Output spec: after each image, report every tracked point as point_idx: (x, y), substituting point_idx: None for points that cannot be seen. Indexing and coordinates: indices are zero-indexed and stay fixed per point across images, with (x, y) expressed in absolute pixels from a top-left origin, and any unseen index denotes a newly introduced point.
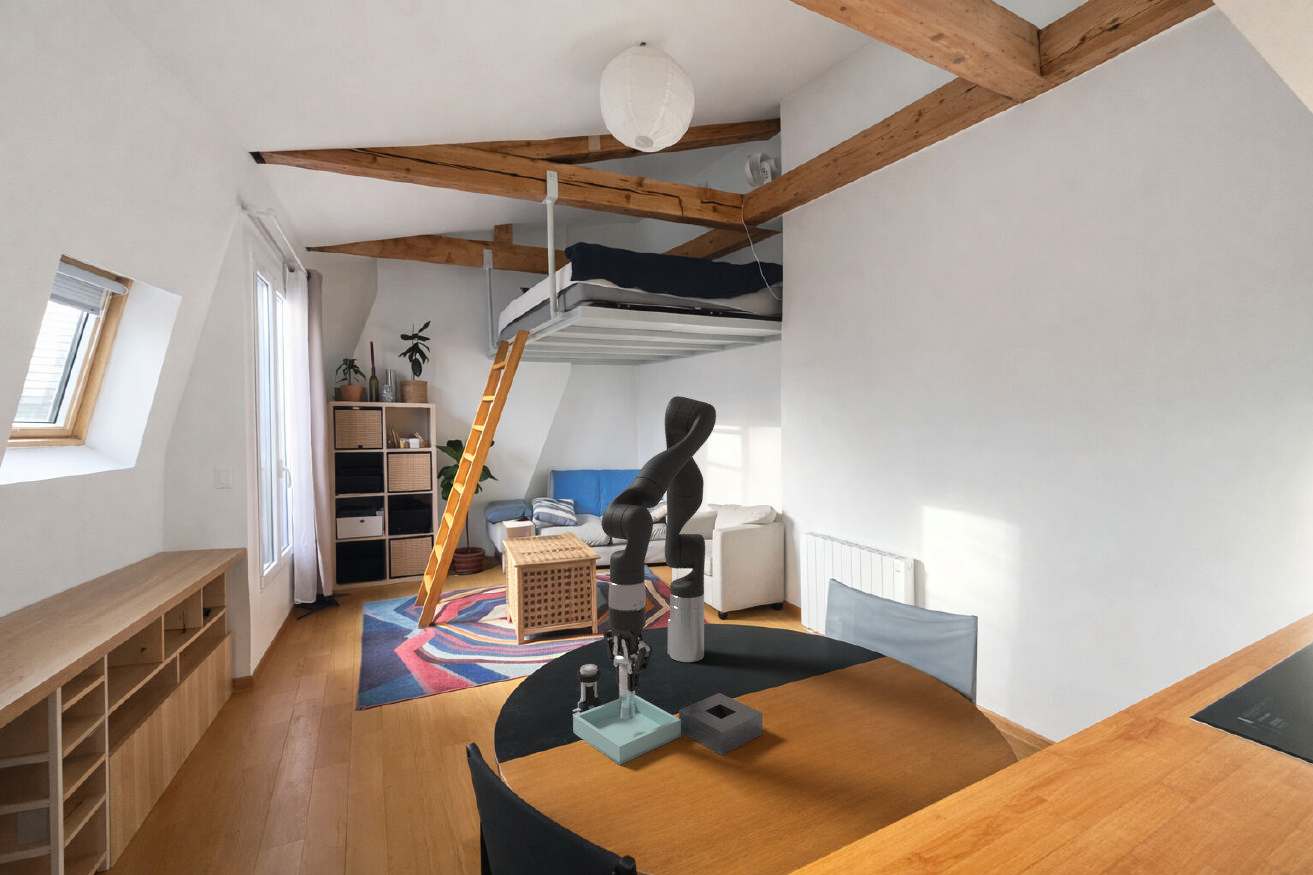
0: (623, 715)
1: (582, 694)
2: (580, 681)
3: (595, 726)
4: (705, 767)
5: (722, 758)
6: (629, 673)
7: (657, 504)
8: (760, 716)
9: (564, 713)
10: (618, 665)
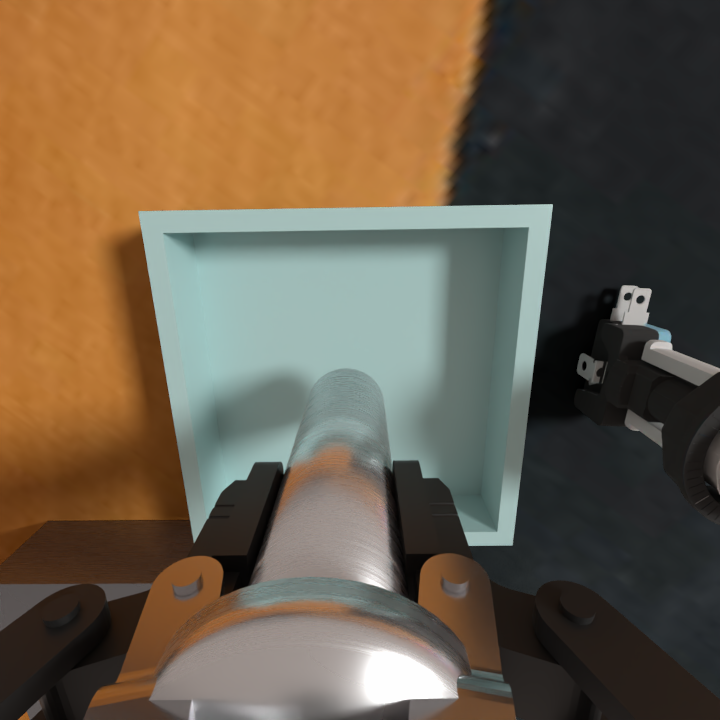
0: (327, 378)
1: (675, 356)
2: None
3: (474, 304)
4: (12, 441)
5: (33, 512)
6: (202, 556)
7: None
8: None
9: (684, 275)
10: (420, 581)
